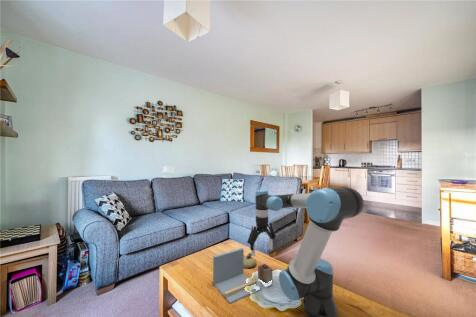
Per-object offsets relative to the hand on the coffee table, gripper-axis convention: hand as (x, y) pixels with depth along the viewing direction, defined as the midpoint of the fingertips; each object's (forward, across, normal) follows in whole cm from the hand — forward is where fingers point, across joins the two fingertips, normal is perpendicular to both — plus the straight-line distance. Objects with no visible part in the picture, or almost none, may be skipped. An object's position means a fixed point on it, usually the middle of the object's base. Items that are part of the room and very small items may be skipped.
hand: (262, 252), depth 115 cm
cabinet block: (+17, -1, +1) cm, 17 cm away
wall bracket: (+17, +15, -5) cm, 23 cm away
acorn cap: (+17, -5, -21) cm, 27 cm away
